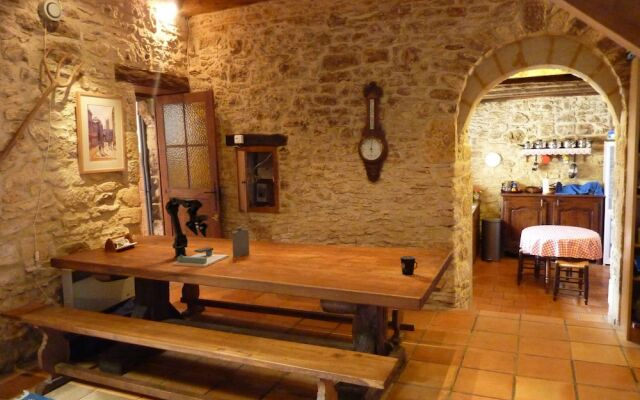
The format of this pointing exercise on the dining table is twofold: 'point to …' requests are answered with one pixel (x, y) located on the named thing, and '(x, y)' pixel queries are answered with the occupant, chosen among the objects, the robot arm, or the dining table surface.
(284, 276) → the dining table surface
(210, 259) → the cream base plate
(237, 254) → the hip flask
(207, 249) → the iron keeper
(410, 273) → the coffee mug
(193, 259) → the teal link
